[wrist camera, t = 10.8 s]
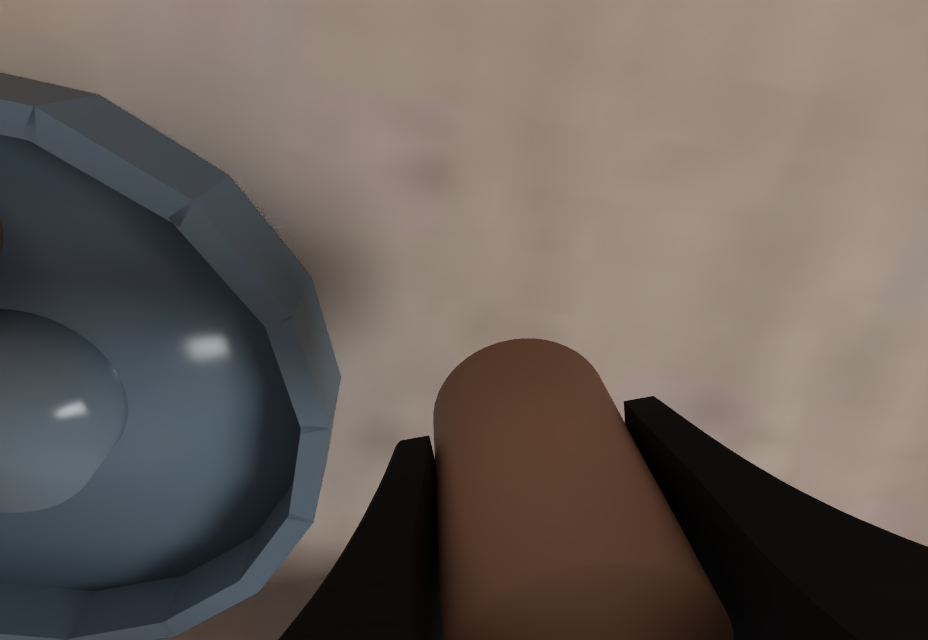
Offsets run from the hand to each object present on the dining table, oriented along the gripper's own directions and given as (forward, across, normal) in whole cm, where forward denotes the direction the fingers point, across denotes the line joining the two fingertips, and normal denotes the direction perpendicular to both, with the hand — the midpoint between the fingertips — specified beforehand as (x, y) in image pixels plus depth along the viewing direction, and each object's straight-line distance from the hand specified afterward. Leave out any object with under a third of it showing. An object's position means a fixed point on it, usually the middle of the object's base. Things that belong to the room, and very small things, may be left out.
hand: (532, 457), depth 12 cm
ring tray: (+8, +15, 0) cm, 17 cm away
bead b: (+2, 0, 0) cm, 2 cm away
